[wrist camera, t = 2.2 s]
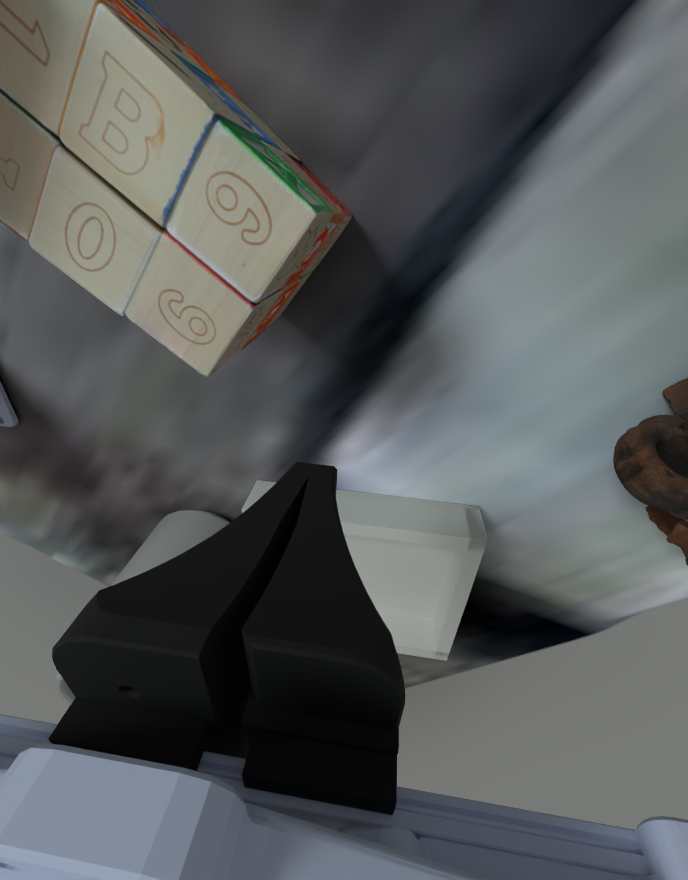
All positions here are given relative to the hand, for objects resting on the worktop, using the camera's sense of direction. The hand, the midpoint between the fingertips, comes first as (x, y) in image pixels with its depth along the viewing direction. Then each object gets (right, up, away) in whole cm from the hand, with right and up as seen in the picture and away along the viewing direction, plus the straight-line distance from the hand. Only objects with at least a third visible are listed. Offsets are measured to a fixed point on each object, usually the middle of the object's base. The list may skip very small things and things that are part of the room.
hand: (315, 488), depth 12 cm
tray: (+2, -8, +16) cm, 18 cm away
